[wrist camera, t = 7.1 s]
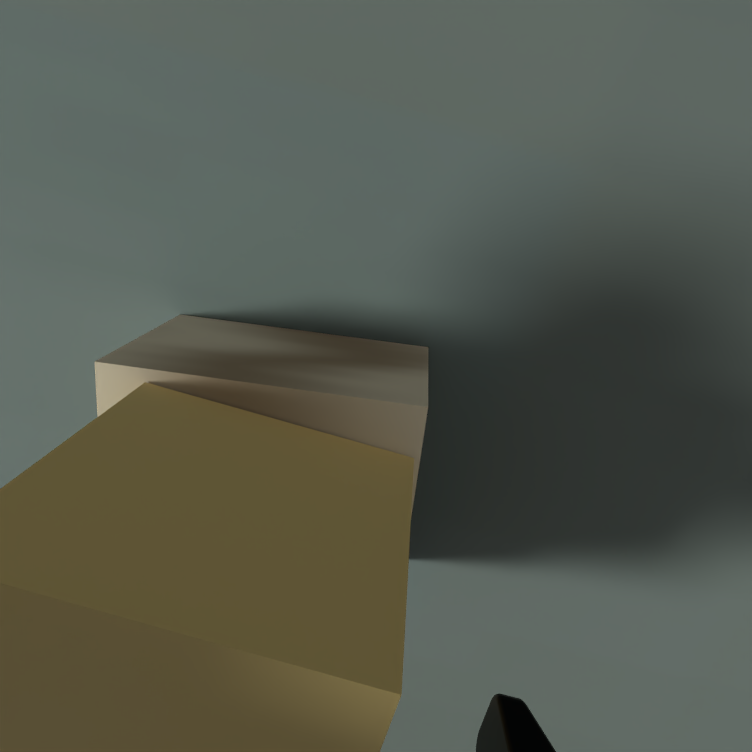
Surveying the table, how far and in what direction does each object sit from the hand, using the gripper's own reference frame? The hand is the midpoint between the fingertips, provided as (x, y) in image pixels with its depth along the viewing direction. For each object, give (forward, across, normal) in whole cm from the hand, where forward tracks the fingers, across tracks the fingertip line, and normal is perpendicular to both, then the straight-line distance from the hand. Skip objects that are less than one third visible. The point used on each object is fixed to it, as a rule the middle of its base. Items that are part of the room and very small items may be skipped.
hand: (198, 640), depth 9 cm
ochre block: (+3, 0, 0) cm, 3 cm away
